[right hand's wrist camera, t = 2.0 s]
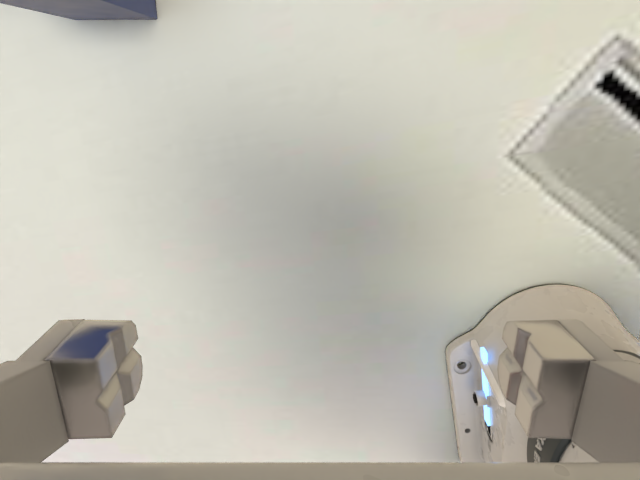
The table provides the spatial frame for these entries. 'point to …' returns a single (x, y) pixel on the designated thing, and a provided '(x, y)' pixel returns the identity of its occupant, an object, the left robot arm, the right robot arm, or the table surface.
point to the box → (91, 8)
